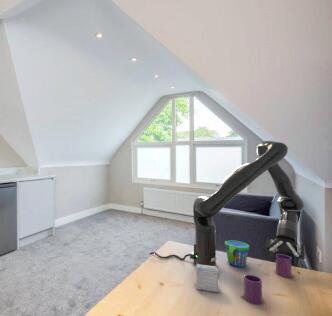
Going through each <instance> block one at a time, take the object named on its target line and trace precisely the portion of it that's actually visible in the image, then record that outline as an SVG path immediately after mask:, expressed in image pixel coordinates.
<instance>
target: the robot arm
mask: <svg viewBox="0 0 332 316" xmlns="http://www.w3.org/2000/svg"><path fill="white" fill-rule="evenodd" d="M256 147H257V148H256V153H257V155H258V158H256V159H255V160H253V161H250V162H247V163H245V164H243V165H240V166H238V167H237V168H235V169H233V170H232V172H231V173H229V174H228V175H227V176H226V177H225V178H224V179H223V181H222V182H221V183H222V184H221V185H220V187H219V188H218V189H217V190H216V191H215V192H214V193H213V194H212V195H210V196H209V197H206V196H198V197H196V199H195V200H194V202H193V205H192V208H193V209H192V211H193V213H192V215H193V222H194V229H195V230H194V238H195V239H194V240H195V243H194V244H193V251H192V252H189V253H188V254H185V255H184V256H183V258H182V257H180V256H179V255H176V254H169V255H167V256H166V255H165V256H162V255H159V254H158V253H157V252H155V251H151V252H150V253H149V255H155V256H157V257H158V258H160V259H169V258H172V257H175V258H177V259H178V260H181V261H184V260H185V259H186V258H188V257H189V259H191V260H193V264H195V265H196V264H199V265H208V266H216V267H217V234H216V233H217V231H216V229H217V227H216V224H215V222H214V220H213V217H215V216H216V215H217V214H219V212H220V211H221V210H223V208H224V207H225V206H226V205H227V204H228V203H229V202H230V201H231V200H233V199H234V198H235V197H237V195H238V194H240V193H241V192H242V191H243V190H245V189H246V188H247V187H248V186H250V185H251V184H252V183H253V182H254V181H255V180H256V179H258V178H259V177H260V176H261V175H263V174H264V173H265V172H266V171H267V172H268V174H269V176H270V177H271V179H272V182H273V184H274V187H275V189H276V192H277V194H278V195H279V196H280V197H279V198H278V199H277V206H278V210H279V220H278V223H277V228H276V236H275V239H272V238H270V237H267V238H266V242H265V246H264V248H265V251H266V252H268V258H269V260H270V261H274V253H275V252H278V251H280V252H286V253H291V254H292V255H293V257H294V258H293V267H297V266H298V267H299V262H300V260H305V259H306V248H305V245H304V244H303V243H301V244H297V236H298V220H299V216H298V214H297V213H295V212H301V211H303V210H304V209H305V202H304V200H303V198H301V196H300V194H298V193H297V190H295V187H294V184H293V182H292V180H291V178H290V176H289V175H288V174H287V172H286V171H285V170H284V169H283V168H282V166H281V165H280V164H279V163H280V162H281V161H282V160H283V159H284V158H286V156H287V154H288V151H289V148H288V146H287V144H286V143H284V142H281V141H274V140H263V141H261V142H260V143H259V144H258V145H257V146H256ZM271 245H273V246H271ZM297 248H298V250H299V251H300V254H298V252H297V251H296V249H297ZM154 253H155V254H154Z"/></svg>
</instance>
